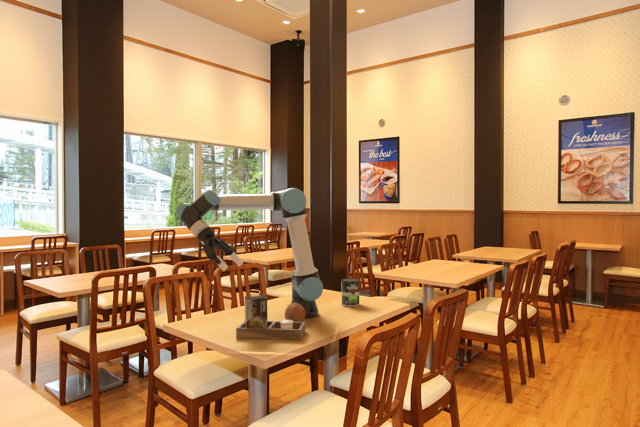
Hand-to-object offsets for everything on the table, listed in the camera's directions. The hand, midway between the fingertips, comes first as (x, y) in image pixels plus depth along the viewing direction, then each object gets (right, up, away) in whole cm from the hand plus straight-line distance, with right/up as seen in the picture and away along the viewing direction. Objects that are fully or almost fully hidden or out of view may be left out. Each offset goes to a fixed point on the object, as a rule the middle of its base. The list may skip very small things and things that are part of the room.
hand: (233, 266), depth 178 cm
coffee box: (+10, -29, -4) cm, 31 cm away
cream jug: (+23, -28, -5) cm, 37 cm away
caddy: (+17, -29, -4) cm, 34 cm away
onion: (+26, -29, +15) cm, 42 cm away
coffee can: (+55, -29, +54) cm, 82 cm away
